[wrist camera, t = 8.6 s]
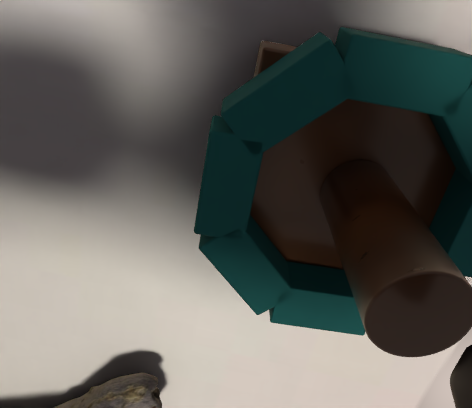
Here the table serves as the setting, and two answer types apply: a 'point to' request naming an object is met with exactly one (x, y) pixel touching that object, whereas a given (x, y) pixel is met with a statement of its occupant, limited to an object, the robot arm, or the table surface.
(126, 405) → the stone
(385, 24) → the table surface
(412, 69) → the ring
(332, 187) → the peg stand
